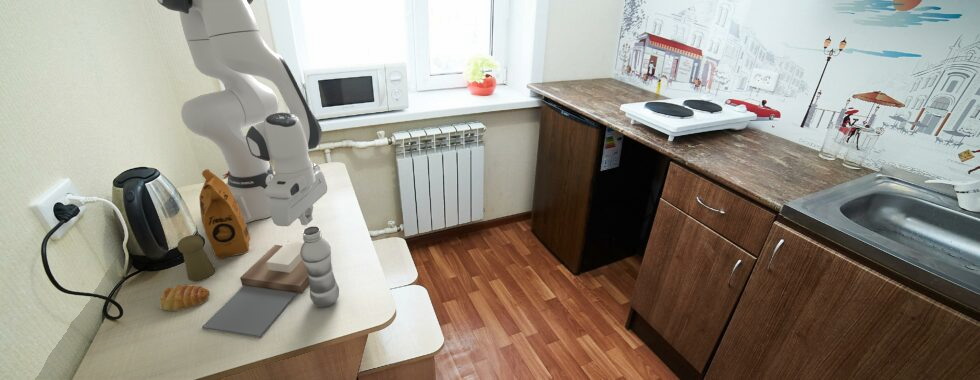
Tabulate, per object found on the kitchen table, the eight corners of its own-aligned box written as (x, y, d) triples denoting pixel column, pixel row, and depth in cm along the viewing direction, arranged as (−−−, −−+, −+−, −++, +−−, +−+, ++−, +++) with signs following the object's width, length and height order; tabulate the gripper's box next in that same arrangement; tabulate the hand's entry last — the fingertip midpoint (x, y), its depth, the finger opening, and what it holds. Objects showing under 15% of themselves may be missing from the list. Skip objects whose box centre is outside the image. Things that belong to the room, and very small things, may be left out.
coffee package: (210, 263, 110) (183, 191, 100) (211, 239, 120) (187, 171, 109) (252, 253, 114) (230, 182, 104) (250, 231, 124) (230, 164, 114)
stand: (242, 285, 103) (239, 277, 102) (277, 252, 115) (275, 244, 114) (301, 293, 101) (299, 285, 99) (330, 258, 113) (329, 251, 112)
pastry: (215, 289, 102) (210, 277, 100) (205, 308, 96) (200, 296, 94) (171, 294, 100) (166, 282, 98) (159, 315, 94) (153, 302, 92)
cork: (202, 283, 103) (188, 247, 98) (182, 279, 104) (166, 244, 99) (221, 268, 108) (208, 233, 103) (201, 265, 110) (188, 230, 104)
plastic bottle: (310, 313, 95) (293, 241, 86) (313, 293, 101) (296, 224, 91) (340, 308, 97) (326, 237, 87) (341, 289, 102) (327, 220, 93)
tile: (268, 269, 104) (266, 261, 103) (289, 249, 112) (287, 241, 111) (290, 272, 104) (288, 264, 102) (310, 251, 111) (308, 243, 110)
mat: (202, 328, 91) (201, 326, 90) (244, 287, 102) (244, 285, 102) (260, 337, 89) (260, 335, 88) (296, 294, 100) (296, 292, 100)
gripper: (307, 160, 116) (316, 203, 123) (259, 193, 98) (273, 242, 105) (328, 161, 115) (336, 205, 122) (283, 195, 97) (296, 244, 104)
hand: (307, 222), depth 113 cm, fingers closed
